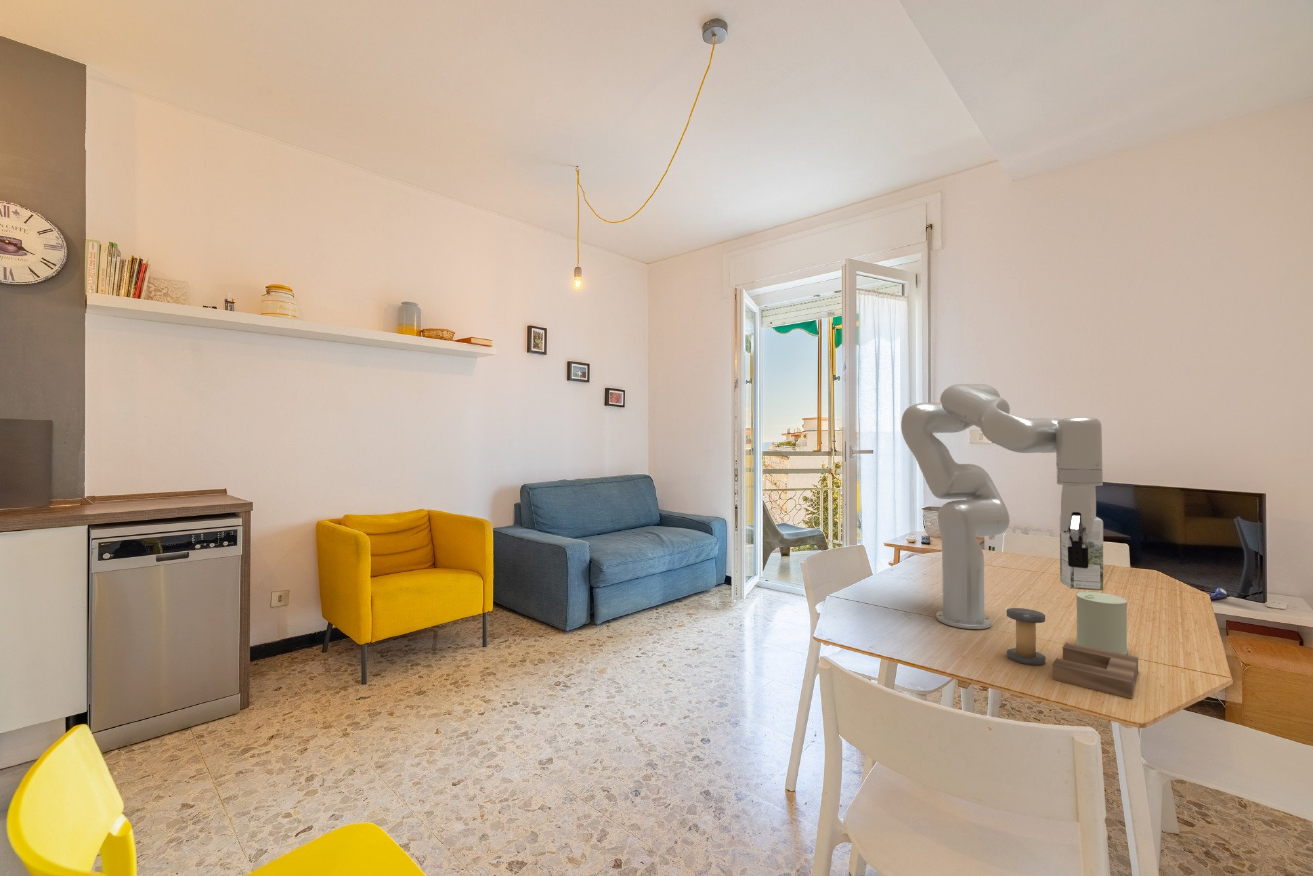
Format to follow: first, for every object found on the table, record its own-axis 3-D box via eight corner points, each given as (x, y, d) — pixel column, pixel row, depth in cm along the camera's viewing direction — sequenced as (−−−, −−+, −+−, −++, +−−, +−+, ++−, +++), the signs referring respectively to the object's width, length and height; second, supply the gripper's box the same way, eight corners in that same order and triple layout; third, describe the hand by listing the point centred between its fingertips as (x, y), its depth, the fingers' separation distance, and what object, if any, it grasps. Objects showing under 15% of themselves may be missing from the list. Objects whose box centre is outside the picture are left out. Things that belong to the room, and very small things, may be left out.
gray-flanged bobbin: (1010, 650, 125) (1010, 605, 125) (1048, 658, 121) (1048, 612, 120) (1003, 659, 120) (1003, 613, 120) (1042, 668, 115) (1041, 620, 115)
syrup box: (1092, 584, 116) (1091, 514, 116) (1104, 591, 110) (1103, 518, 110) (1060, 582, 118) (1058, 514, 118) (1070, 589, 112) (1069, 517, 112)
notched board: (1066, 655, 122) (1066, 642, 122) (1138, 671, 114) (1138, 657, 114) (1052, 679, 111) (1052, 664, 111) (1131, 698, 102) (1131, 682, 102)
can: (1066, 640, 131) (1066, 589, 131) (1106, 640, 131) (1106, 589, 131) (1095, 655, 122) (1095, 601, 122) (1139, 655, 122) (1138, 601, 122)
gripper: (1063, 475, 123) (1065, 555, 123) (1049, 479, 110) (1051, 568, 110) (1107, 476, 118) (1109, 559, 118) (1097, 480, 105) (1099, 574, 105)
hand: (1081, 563), depth 114 cm, fingers closed on syrup box, 7 cm apart
